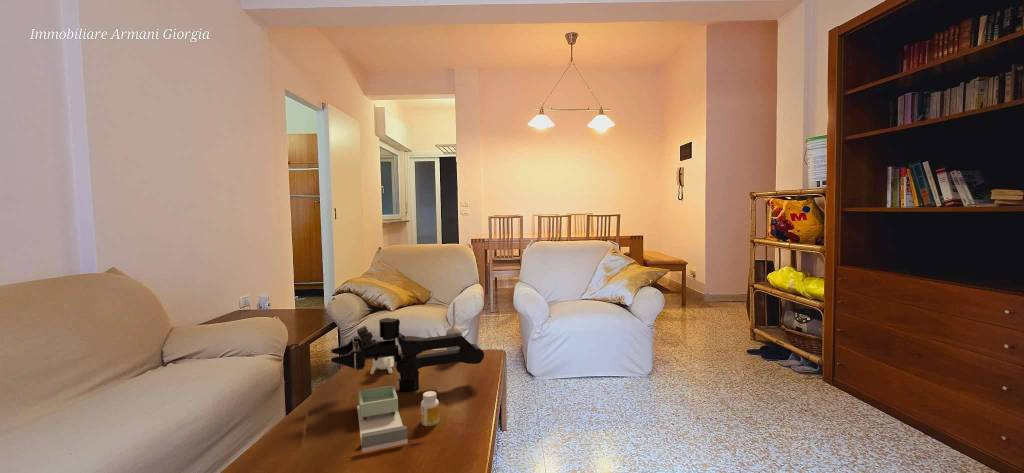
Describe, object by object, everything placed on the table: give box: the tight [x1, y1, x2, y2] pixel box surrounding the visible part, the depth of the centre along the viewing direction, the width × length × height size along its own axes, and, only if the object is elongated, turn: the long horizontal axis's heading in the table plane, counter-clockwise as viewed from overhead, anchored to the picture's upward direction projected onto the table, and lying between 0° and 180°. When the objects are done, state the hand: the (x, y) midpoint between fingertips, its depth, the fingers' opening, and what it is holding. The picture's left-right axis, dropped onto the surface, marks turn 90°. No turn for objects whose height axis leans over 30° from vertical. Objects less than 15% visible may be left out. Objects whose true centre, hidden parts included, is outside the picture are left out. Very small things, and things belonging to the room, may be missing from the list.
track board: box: [356, 404, 408, 454], centre depth 132 cm, size 12×28×4 cm, turn 22°
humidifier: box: [445, 302, 463, 351], centre depth 189 cm, size 8×8×25 cm
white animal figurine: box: [369, 356, 395, 375], centre depth 175 cm, size 9×8×15 cm
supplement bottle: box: [420, 390, 440, 427], centre depth 132 cm, size 5×5×10 cm
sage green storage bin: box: [358, 384, 399, 420], centre depth 138 cm, size 11×11×6 cm
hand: (331, 355), depth 146 cm, fingers open, 9 cm apart
